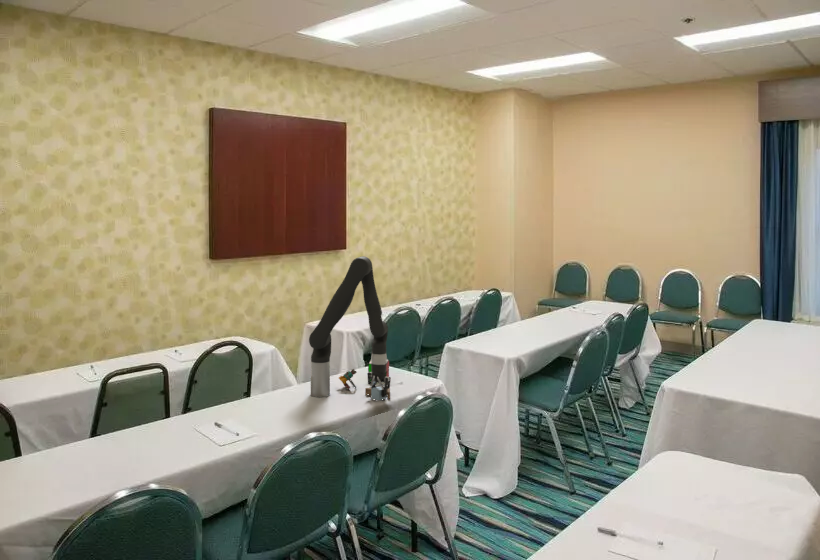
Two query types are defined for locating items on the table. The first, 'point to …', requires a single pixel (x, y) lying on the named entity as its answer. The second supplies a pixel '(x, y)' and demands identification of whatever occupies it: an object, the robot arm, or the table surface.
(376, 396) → the slate-blue block
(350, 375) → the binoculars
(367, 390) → the walnut corner walls
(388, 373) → the puzzle cube
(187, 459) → the table surface
